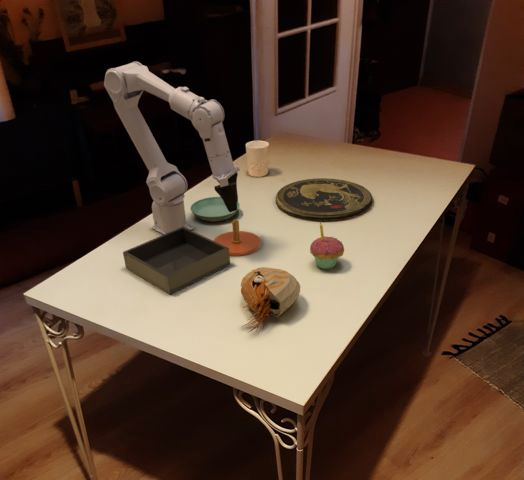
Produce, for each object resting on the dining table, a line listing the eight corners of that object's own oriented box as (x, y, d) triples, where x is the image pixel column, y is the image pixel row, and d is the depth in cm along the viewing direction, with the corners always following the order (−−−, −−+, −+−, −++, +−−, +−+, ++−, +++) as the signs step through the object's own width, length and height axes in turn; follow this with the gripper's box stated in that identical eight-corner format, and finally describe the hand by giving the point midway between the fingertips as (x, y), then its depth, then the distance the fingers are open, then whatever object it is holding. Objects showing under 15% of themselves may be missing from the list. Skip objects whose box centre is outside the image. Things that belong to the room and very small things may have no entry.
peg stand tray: (125, 268, 146) (122, 252, 143) (185, 242, 156) (183, 226, 153) (170, 294, 135) (167, 277, 132) (230, 264, 146) (229, 248, 143)
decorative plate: (375, 216, 161) (271, 214, 164) (375, 222, 163) (271, 220, 165) (370, 178, 185) (279, 177, 188) (369, 183, 186) (279, 182, 189)
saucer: (241, 204, 176) (241, 195, 174) (238, 224, 164) (238, 216, 162) (194, 204, 176) (193, 196, 175) (188, 225, 165) (187, 217, 163)
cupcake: (315, 274, 141) (317, 230, 133) (304, 259, 147) (305, 216, 140) (348, 269, 142) (351, 225, 135) (335, 254, 149) (338, 211, 141)
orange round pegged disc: (203, 245, 155) (200, 220, 150) (238, 229, 162) (236, 205, 157) (235, 261, 147) (234, 235, 143) (270, 243, 154) (269, 218, 150)
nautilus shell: (272, 346, 119) (212, 331, 125) (313, 291, 133) (257, 280, 139) (268, 316, 114) (206, 302, 120) (311, 262, 128) (253, 252, 134)
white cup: (243, 176, 194) (242, 147, 187) (250, 168, 199) (249, 139, 193) (265, 178, 192) (265, 149, 185) (272, 170, 197) (271, 141, 191)
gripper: (233, 155, 133) (248, 210, 140) (235, 144, 146) (248, 195, 152) (204, 163, 134) (220, 217, 141) (209, 151, 147) (223, 202, 153)
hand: (233, 206), depth 147 cm, fingers open, 7 cm apart
